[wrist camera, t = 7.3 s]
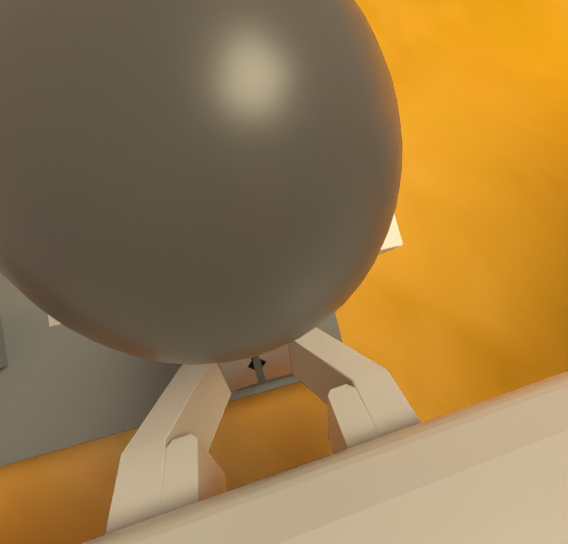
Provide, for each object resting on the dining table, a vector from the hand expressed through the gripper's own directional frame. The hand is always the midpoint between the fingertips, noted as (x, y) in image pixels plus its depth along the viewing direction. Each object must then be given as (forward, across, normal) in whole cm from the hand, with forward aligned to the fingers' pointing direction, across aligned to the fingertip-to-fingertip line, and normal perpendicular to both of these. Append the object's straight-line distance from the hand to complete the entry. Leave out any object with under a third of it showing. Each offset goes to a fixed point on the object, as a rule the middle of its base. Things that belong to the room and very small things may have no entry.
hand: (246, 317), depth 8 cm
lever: (+5, 0, +3) cm, 6 cm away
